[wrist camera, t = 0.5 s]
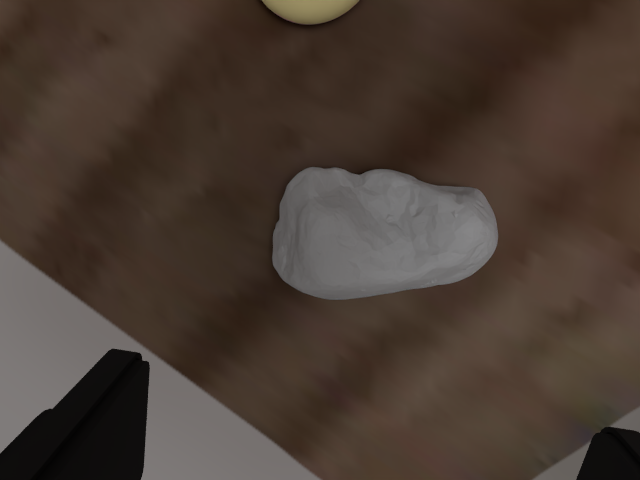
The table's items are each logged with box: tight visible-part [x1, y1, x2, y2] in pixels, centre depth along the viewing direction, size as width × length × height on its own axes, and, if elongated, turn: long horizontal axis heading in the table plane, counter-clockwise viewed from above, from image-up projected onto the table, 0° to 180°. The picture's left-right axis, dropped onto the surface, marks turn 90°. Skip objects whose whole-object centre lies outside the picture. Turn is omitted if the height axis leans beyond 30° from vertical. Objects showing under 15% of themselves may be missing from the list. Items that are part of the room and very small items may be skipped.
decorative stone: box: [272, 167, 498, 300], centre depth 35 cm, size 17×10×10 cm
